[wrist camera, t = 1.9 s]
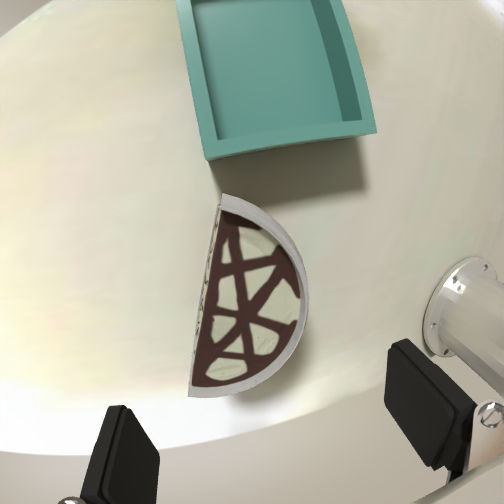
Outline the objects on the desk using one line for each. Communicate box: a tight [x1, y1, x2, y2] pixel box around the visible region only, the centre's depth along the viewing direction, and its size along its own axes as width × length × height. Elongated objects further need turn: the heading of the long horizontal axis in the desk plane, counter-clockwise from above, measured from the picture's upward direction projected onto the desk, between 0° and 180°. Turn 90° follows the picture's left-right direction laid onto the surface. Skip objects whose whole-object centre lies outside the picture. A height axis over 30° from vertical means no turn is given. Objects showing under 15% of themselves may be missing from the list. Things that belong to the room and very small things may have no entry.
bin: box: [176, 0, 377, 161], centre depth 18 cm, size 12×18×4 cm, turn 11°
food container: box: [188, 193, 309, 398], centre depth 21 cm, size 12×6×10 cm, turn 168°
